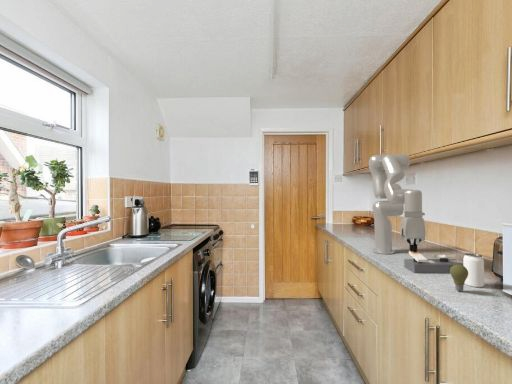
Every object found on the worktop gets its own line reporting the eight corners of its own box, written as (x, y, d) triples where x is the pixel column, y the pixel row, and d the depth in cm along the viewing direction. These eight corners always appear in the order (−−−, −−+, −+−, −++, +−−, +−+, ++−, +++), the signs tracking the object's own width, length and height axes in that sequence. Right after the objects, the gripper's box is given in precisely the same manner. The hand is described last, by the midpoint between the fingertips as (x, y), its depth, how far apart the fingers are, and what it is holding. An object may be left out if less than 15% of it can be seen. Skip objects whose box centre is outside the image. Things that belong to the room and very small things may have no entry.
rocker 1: (408, 253, 137) (408, 250, 136) (417, 253, 136) (417, 250, 136) (418, 261, 128) (418, 259, 127) (426, 261, 128) (427, 259, 127)
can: (461, 284, 111) (461, 254, 111) (466, 281, 115) (465, 252, 115) (482, 289, 106) (481, 257, 106) (486, 285, 110) (485, 254, 110)
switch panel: (404, 267, 137) (404, 256, 137) (454, 267, 136) (454, 255, 136) (414, 273, 127) (414, 261, 127) (469, 273, 126) (469, 261, 126)
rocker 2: (434, 257, 135) (434, 255, 136) (443, 257, 135) (442, 255, 136) (445, 257, 127) (444, 254, 127) (454, 257, 126) (453, 254, 127)
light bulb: (446, 288, 106) (446, 262, 106) (460, 288, 107) (459, 262, 107) (458, 294, 101) (457, 266, 101) (472, 293, 101) (472, 266, 101)
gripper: (424, 214, 139) (425, 250, 139) (394, 214, 140) (394, 250, 140) (433, 215, 131) (433, 254, 132) (400, 216, 132) (401, 254, 133)
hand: (413, 252), depth 136 cm, fingers closed
